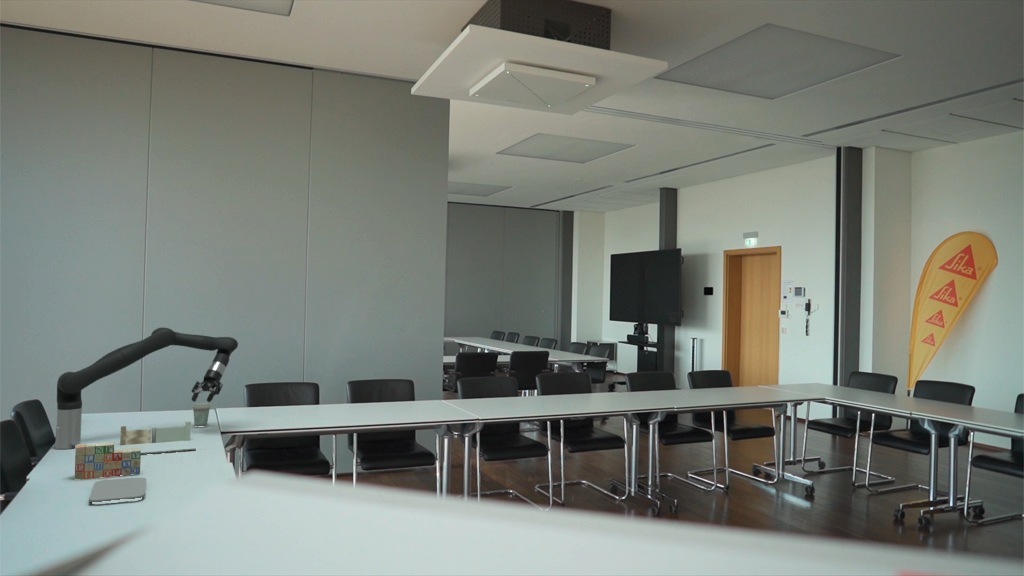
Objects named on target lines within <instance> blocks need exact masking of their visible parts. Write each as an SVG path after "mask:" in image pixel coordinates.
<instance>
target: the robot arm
mask: <svg viewBox="0 0 1024 576" xmlns="http://www.w3.org/2000/svg"><path fill="white" fill-rule="evenodd" d="M169 346H179V347H180V346H181V347H186V348H192V349H196V350H201V351H202V350H203V351H210V352H212V351H213V352H214V351H216V354H215V356H214V358H213V359H212V361H211V364H209V367H208V368H207V370H206V372H205V374H204V376H203V381H202V382H200V381H196V382H195V384H194V385H193V387H192V389H191V393H192V394H193V395H192V396H191V401H192V402H194V403H196V401H197V399H198V397H199V395H200V394H203V393H204V392H209V394H208V396H207V398H206V401H207V403H211V401H212V400H213V399H214V398H215V396H217V395H218V396H219V394H220V392H221V391H222V388H223V383H222V382H221V380H222V378H223V375H224V374H225V371H226V369H227V366H228V364H229V362H230V357H231V355H232V354H233V352H235V351H236V349H237V348H238V346H239V342H238V341H237V339H235V338H233V337H231V336H219V337H218V336H216V337H214V336H209V335H202V334H201V335H200V334H192V333H191V334H190V333H184V332H183V333H181V332H178V331H174V330H173V329H171V328H170V327H164V326H163V327H157V328H156V329H154V330H153V331H152V332H151V334H150V335H149V336H148V337H145V338H144V339H141V340H139V341H135V342H132V343H129V344H126V345H123V346H121V347H118V348H116V349H114V350H113V351H112V350H111V351H110V352H108V353H107V354H105V355H103V356H102V357H101V358H98V360H96V361H95V362H94V363H92V364H91V365H88V366H86V367H85V368H81V369H80V370H77V371H75V372H74V371H67V372H64V373H62V374H61V375H60V376H59V377H58V378H57V383H56V405H57V406H56V407H57V408H56V409H57V411H56V414H57V415H56V429H55V446H54V449H55V450H70V449H76V446H77V444H81V443H82V442H81V439H82V438H81V435H82V412H83V409H82V408H83V401H82V391H83V389H84V390H85V388H87V387H88V386H90V385H92V384H94V383H95V382H97V381H98V380H100V379H101V380H102V379H103V378H105V377H108V376H111V375H112V374H114V373H116V372H119V371H121V370H123V369H125V368H128V367H129V366H131V365H133V364H134V363H136V362H138V361H140V360H142V359H144V358H145V357H146V356H148V355H150V354H152V353H154V352H157V351H160V350H162V349H165V348H168V347H169Z"/></svg>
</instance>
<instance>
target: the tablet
mask: <svg viewBox="0 0 1024 576" xmlns="http://www.w3.org/2000/svg"><path fill="white" fill-rule="evenodd" d="M146 487H147V478H146V477H140V476H139V477H129V478H127V477H126V478H116V479H114V478H113V479H104V480H98V481H95V482H94V483H93V486H92V489H91V492H90V494H89V498H88V501H89V502H102V501H111V500H120V499H135V498H141V497H143V498H144V497H145V496H146V490H147V489H146Z"/></svg>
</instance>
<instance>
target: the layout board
mask: <svg viewBox="0 0 1024 576" xmlns="http://www.w3.org/2000/svg"><path fill="white" fill-rule="evenodd" d="M196 451H197V449H196V448H190V449H189V448H188V449H187V448H183V449H178V450H177V449H172V450H170V449H169V450H165V451H164V450H160V451H153V452H152V451H148V452H147V451H145V452H141V456H148V455H147V454H153V455H163V454H162V453H165V454H173V453H174V454H176V452H178V453H186V452H196Z"/></svg>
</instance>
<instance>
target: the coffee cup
mask: <svg viewBox="0 0 1024 576" xmlns="http://www.w3.org/2000/svg"><path fill="white" fill-rule="evenodd" d="M192 408H193V409H192V411H193V423H194V427H195V426H206V425H207V426H208V421H209V414H210V409H211V404H210V402H194V403H193V405H192ZM207 426H206V427H207Z"/></svg>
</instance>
